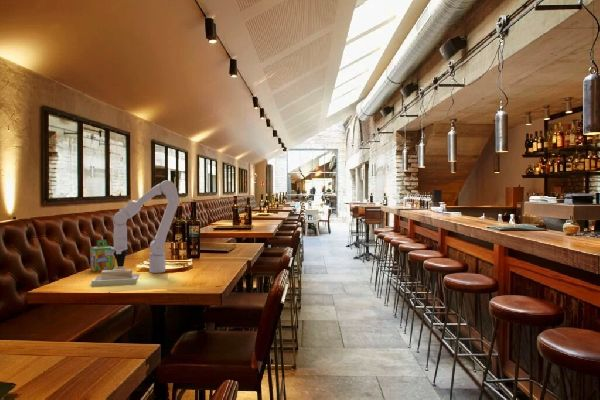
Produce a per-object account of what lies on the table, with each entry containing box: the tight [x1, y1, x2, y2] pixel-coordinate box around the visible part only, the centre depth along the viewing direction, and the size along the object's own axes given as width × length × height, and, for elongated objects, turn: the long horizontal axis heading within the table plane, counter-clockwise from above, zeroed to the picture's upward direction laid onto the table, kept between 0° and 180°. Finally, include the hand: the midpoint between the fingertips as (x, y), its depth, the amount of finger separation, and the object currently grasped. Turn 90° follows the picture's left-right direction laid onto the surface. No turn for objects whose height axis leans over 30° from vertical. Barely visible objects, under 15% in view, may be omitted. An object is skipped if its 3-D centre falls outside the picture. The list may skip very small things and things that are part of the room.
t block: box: [100, 265, 133, 280], centre depth 206 cm, size 12×12×4 cm
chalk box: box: [89, 239, 116, 272], centre depth 229 cm, size 9×9×15 cm
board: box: [89, 273, 141, 287], centre depth 203 cm, size 22×18×1 cm
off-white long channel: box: [91, 277, 138, 287], centre depth 195 cm, size 5×17×2 cm, turn 105°
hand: (120, 267), depth 216 cm, fingers closed
